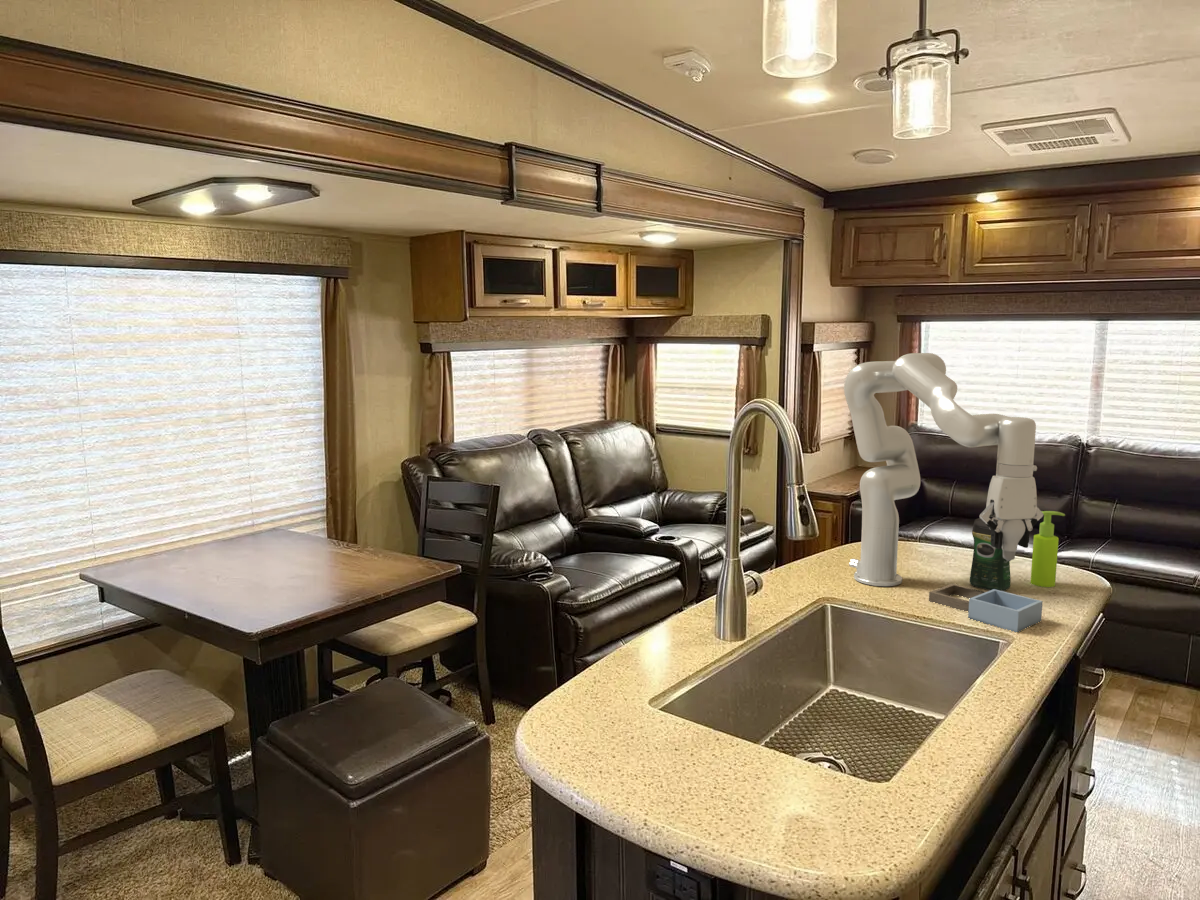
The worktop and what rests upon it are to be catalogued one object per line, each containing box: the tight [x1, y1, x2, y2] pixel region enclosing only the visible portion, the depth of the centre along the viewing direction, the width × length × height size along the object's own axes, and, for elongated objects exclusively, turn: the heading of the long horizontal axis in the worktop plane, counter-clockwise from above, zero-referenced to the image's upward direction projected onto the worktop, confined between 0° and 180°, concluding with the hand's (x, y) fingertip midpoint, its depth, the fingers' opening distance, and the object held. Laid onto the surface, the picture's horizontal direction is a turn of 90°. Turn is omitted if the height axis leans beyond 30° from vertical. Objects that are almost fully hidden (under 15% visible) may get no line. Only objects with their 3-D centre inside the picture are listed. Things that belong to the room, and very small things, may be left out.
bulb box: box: [967, 589, 1044, 633], centre depth 193 cm, size 12×12×5 cm
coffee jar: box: [969, 517, 1012, 592], centre depth 217 cm, size 10×8×19 cm
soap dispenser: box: [1029, 510, 1066, 588], centre depth 219 cm, size 6×7×20 cm
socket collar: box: [928, 583, 986, 612], centre depth 206 cm, size 11×11×2 cm
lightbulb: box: [1000, 519, 1025, 562], centre depth 191 cm, size 6×6×11 cm
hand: (1009, 546), depth 191 cm, fingers closed on lightbulb, 5 cm apart
